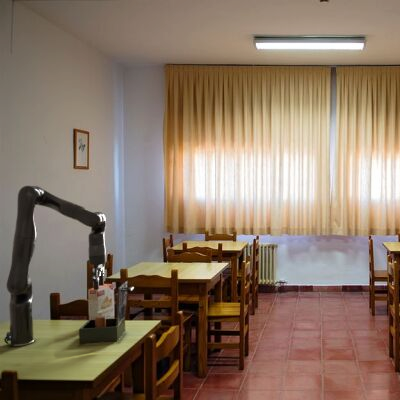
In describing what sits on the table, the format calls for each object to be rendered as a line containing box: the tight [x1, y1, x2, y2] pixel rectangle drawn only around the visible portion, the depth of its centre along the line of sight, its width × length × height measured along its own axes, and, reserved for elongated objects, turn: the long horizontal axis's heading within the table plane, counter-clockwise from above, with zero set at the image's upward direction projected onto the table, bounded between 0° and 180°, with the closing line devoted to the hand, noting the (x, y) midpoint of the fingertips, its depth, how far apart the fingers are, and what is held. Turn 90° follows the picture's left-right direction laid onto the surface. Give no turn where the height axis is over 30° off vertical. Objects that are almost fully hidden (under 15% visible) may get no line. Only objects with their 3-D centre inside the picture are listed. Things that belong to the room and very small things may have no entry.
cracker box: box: [87, 283, 115, 320], centre depth 262 cm, size 14×6×21 cm, turn 168°
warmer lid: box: [115, 280, 135, 326], centre depth 241 cm, size 18×16×5 cm
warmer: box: [78, 317, 126, 345], centre depth 240 cm, size 17×16×8 cm
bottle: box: [95, 311, 106, 328], centre depth 239 cm, size 5×5×12 cm
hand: (98, 287), depth 239 cm, fingers open, 8 cm apart
